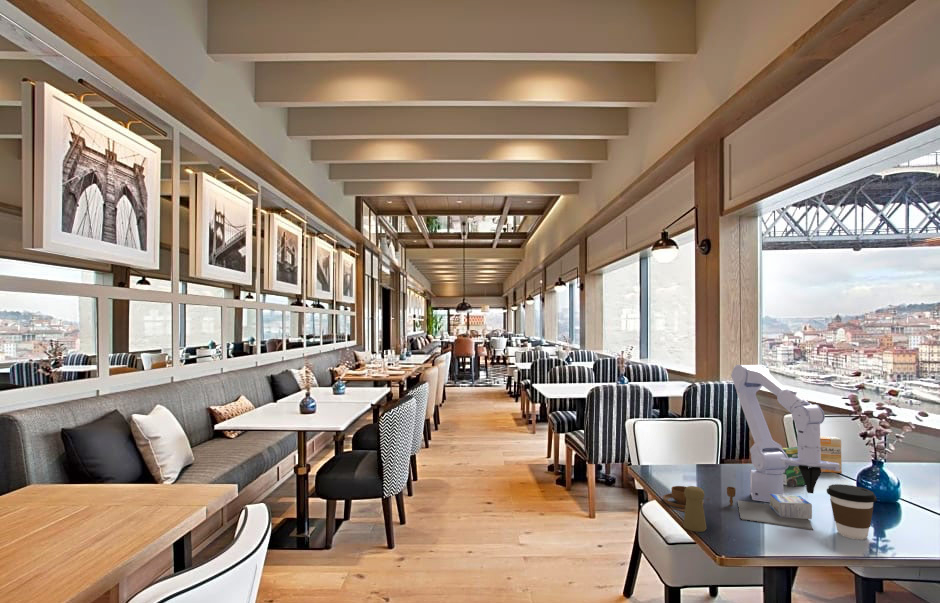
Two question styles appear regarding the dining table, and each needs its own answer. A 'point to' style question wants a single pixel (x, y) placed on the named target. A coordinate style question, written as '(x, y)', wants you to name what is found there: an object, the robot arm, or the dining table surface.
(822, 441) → the supplement box
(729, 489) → the place setting
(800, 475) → the coffee box
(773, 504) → the medicine box
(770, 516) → the rubber mat
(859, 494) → the coffee cup
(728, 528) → the dining table surface
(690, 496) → the cork
